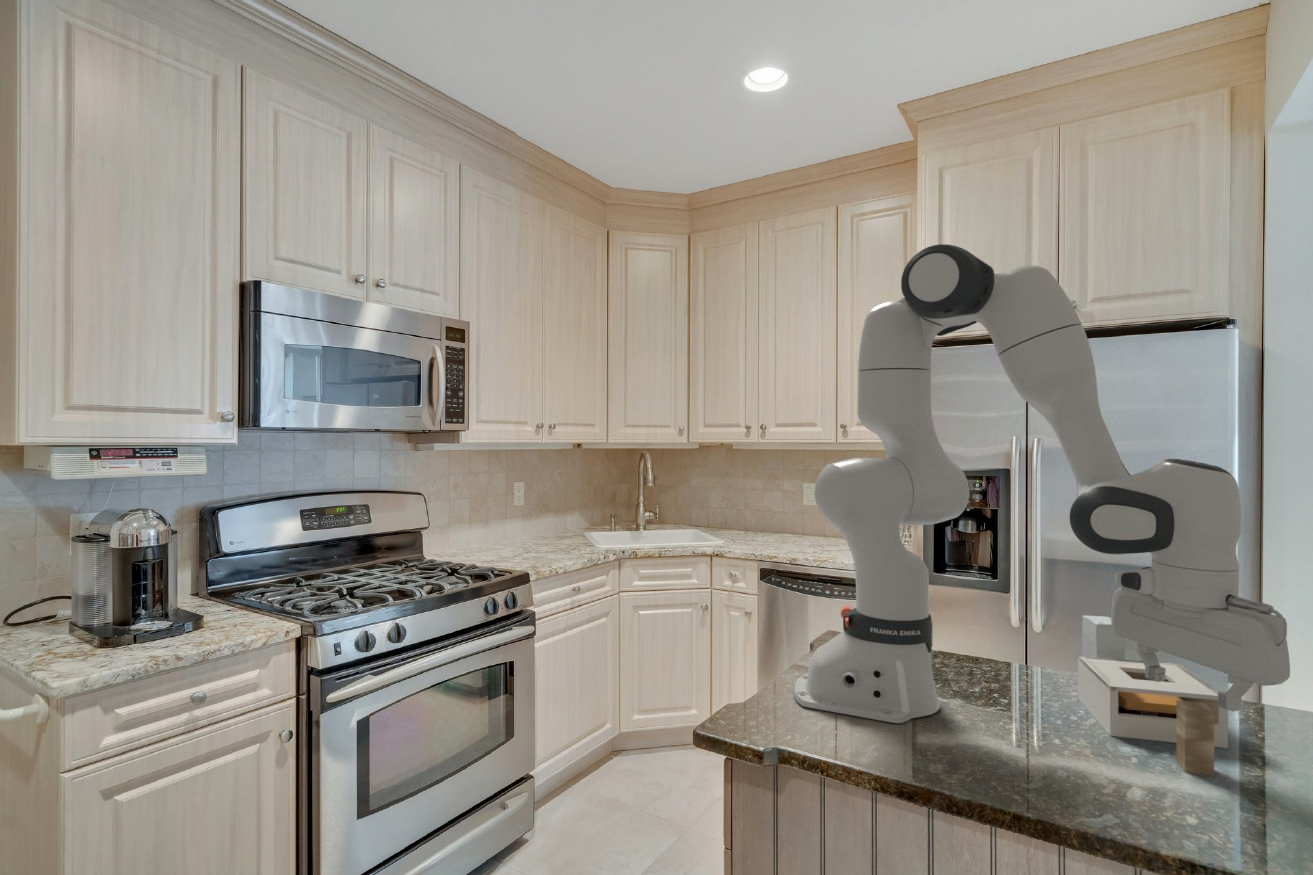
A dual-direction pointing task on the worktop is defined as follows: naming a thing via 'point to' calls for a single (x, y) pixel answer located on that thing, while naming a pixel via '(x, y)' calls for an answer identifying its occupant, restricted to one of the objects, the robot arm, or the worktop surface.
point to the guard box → (1113, 675)
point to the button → (1148, 703)
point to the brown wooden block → (1195, 737)
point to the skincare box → (1100, 638)
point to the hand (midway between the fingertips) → (1190, 693)
